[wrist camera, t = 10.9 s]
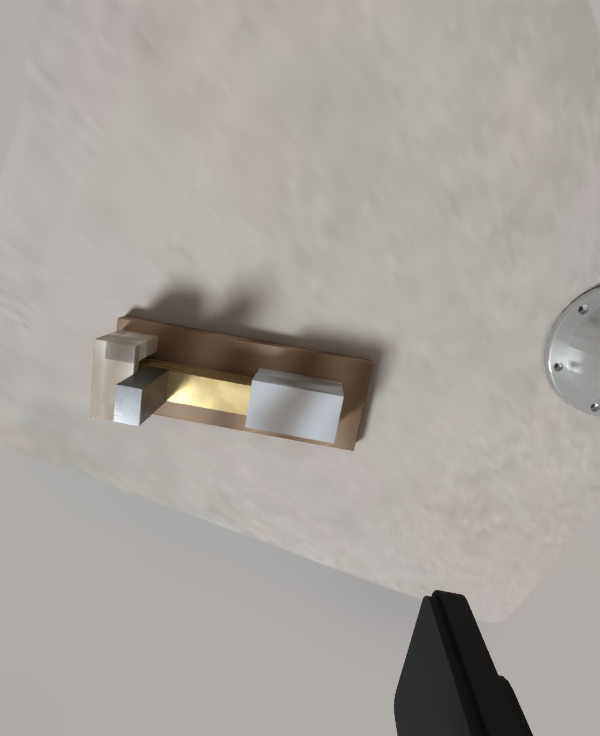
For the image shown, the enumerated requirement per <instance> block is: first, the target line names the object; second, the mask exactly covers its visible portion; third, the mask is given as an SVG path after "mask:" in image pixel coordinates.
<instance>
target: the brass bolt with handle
mask: <svg viewBox="0 0 600 736" xmlns="http://www.w3.org/2000/svg"><path fill="white" fill-rule="evenodd" d="M253 378H254V377H250V376H244V375H239V374H233V373H228V372H222V371H217V370H211V369H206V368H200V367H195V366H189V365H184V364H178V363H173V362H167V361H162V360H156V359H151V358H143V359H142V360H140V361H139V366H138V372H136V373H134V374H133V375H131V376H129V377H128V378H126V379H124V380H123V381H121V382H120V383H118V384H116V393H115V407H114V422H120V423H125V424H130V425H136V426H140V425H141V424H142V423H143V422H144V421H145V420H146V419H147V418H148V417H150V416H151V415H152V414H153V413H154V412H155V411H156V410H157V409H158V408H159V407H161V406H162V405H163V404H164V403H165V402H166V401H170V402H176V403H181V404H187V405H192V406H198V407H203V408H209V409H214V410H220V411H225V412H231V413H236V414H242V415H247V411H248V404H249V398H250V391H251V384H252V380H253Z"/></svg>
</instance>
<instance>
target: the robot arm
mask: <svg viewBox="0 0 600 736" xmlns="http://www.w3.org/2000/svg"><path fill="white" fill-rule="evenodd" d="M579 307H580V310H579V311H578V309H579ZM555 364H556V366H555V367H554V365H555ZM545 367H546V372H547V376H548V378H549V381H550V383H551V385H552V387H553V388H554V390H555V391H556V392H557V394H558V395H559V396H560V397H561V398H562V399H563V400H565V401H566V402H567V403H568V404H570V405H572V406H573V407H575V408H576V409H578V410H581V411H583V412H585V413H588V414H591V415H596V416H600V287H598V288H595V289H593V290H591V291H589V292H587V293H585V294H583V295H582V296H580V297H579V298H578V299H576V300H575V301H574V302H573V303H571V304H570V305H569V306H568V307H567V308H566V309H565V310H564V311H563V313H562V314H561V315H560V316H559V318H558V319H557V321H556V322H555V324H554V325H553V327H552V330H551V332H550V334H549V337H548V339H547V344H546V349H545ZM394 714H395V721H396V728H397V735H398V736H533V734H532V732H531V730H530V728H529V725H528V723H527V721H526V718H525V716H524V714H523V711H522V709H521V707H520V705H519V702H518V700H517V698H516V695H515V693H514V691H513V689H512V687H511V686H510V683H509V682H508V681H507V680H506V679H505V678H504V677H503V676H499V675H498V674H497V671H496V669H495V666H494V664H493V662H492V659H491V657H490V654H489V652H488V650H487V647H486V645H485V642H484V640H483V638H482V635H481V633H480V631H479V628H478V626H477V623H476V621H475V618H474V616H473V614H472V611H471V609H470V606H469V604H468V602H467V600H466V598H465V596H463V595H461V594H456V593H450V592H445V591H440V590H435V591H434V592H433V594H432V596H431V597H430V596H425V597H424V598H423V601H422V604H421V608H420V611H419V615H418V618H417V621H416V625H415V628H414V632H413V635H412V638H411V642H410V645H409V649H408V652H407V655H406V659H405V662H404V666H403V669H402V673H401V676H400V680H399V683H398V686H397V690H396V693H395V700H394Z"/></svg>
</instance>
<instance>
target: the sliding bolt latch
mask: <svg viewBox="0 0 600 736" xmlns="http://www.w3.org/2000/svg"><path fill="white" fill-rule="evenodd" d="M143 358H151V359H156V360H162V361H167V362H173V363H178V364H184V365H189V366H195V367H200V368H206V369H211V370H217V371H222V372H228V373H233V374H239V375H244V376H250V377H254V378H253V380H252V384H251V391H250V398H249V404H248V411H247V415H242V414H236V413H231V412H225V411H220V410H214V409H209V408H203V407H198V406H192V405H187V404H181V403H176V402H170V401H166V402H165V403H164V404H163V405H162V406H161V407H159V408H158V409H157V410H156V411H155V412H154V413H153V414H155V415H160V416H165V417H171V418H176V419H182V420H187V421H193V422H198V423H204V424H209V425H215V426H220V427H226V428H231V429H236V430H242V431H247V432H253V433H258V434H264V435H269V436H275V437H280V438H286V439H291V440H296V441H302V442H307V443H313V444H318V445H324V446H329V447H335V448H340V449H346V450H351V451H354V447H355V442H356V438H357V433H358V429H359V424H360V420H361V415H362V411H363V406H364V402H365V397H366V393H367V388H368V384H369V379H370V375H371V370H372V365H373V364H372V362H371V361H370V360H365V359H359V358H353V357H348V356H342V355H337V354H331V353H326V352H320V351H315V350H309V349H304V348H298V347H293V346H287V345H282V344H276V343H271V342H265V341H260V340H254V339H249V338H243V337H237V336H232V335H226V334H221V333H215V332H210V331H204V330H199V329H193V328H188V327H182V326H177V325H171V324H166V323H160V322H155V321H149V320H144V319H138V318H133V317H127V316H123V317H120V318H118V322H117V331H116V332H113V333H110V334H108V335H105V336H102V337H99V338H96V339H94V356H93V374H92V392H91V410H90V417H95V418H101V419H106V420H112V421H114V407H115V393H116V384H118V383H120V382H121V381H123V380H124V379H126V378H128V377H129V376H131V375H133V374H134V373H136V372H138V366H139V361H140V360H142V359H143Z"/></svg>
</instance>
